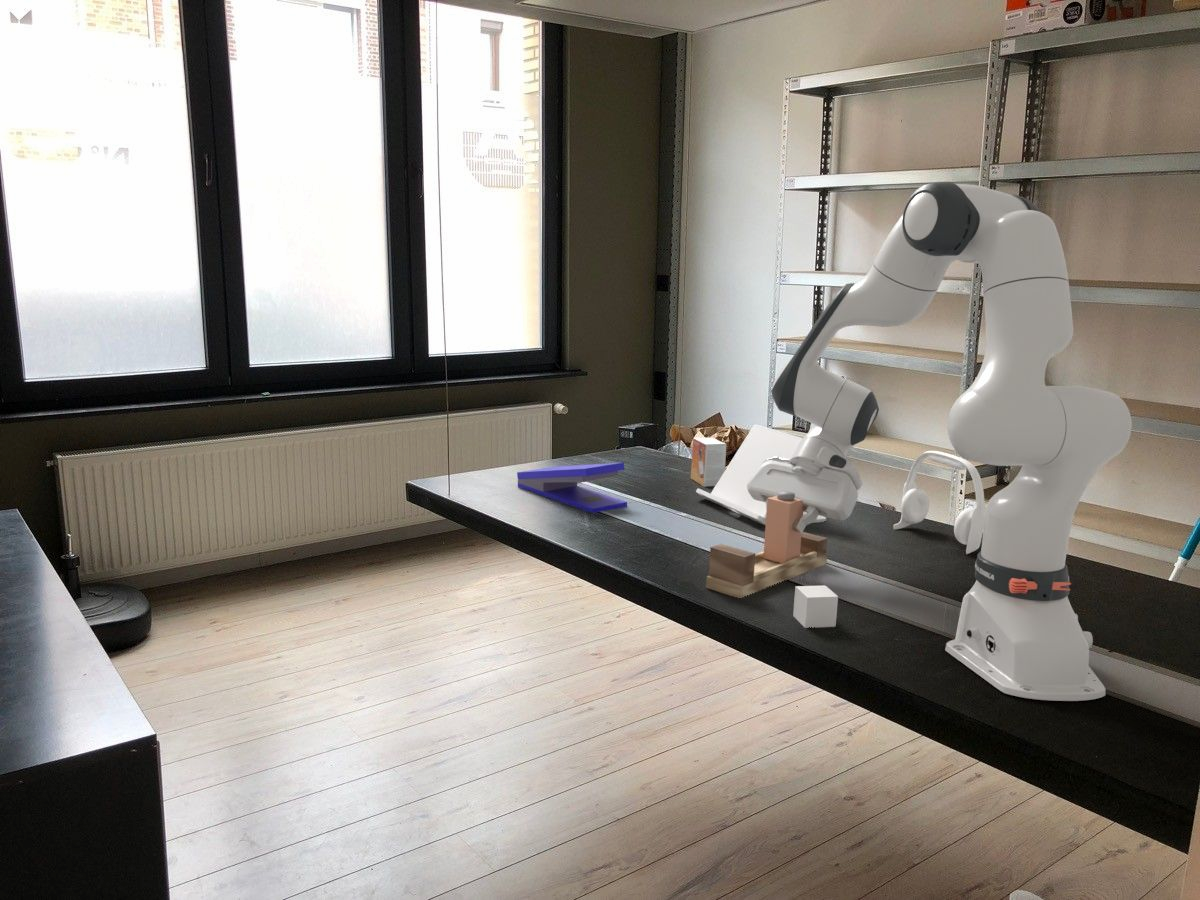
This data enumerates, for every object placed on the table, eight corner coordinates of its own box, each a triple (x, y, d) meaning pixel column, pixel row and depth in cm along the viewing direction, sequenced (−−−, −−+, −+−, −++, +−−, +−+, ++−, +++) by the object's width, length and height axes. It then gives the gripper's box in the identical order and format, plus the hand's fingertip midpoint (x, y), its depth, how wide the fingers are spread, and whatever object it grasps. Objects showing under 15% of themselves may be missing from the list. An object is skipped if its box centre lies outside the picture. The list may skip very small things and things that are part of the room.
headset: (989, 553, 189) (1000, 463, 185) (961, 556, 186) (972, 465, 182) (916, 525, 206) (925, 443, 203) (890, 528, 203) (898, 444, 200)
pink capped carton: (777, 552, 177) (782, 488, 174) (799, 558, 174) (804, 493, 171) (763, 557, 173) (767, 492, 171) (785, 564, 170) (790, 497, 168)
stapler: (590, 514, 207) (591, 470, 205) (514, 488, 228) (514, 447, 226) (630, 506, 215) (631, 463, 213) (552, 481, 236) (553, 441, 234)
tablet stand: (759, 494, 229) (763, 423, 226) (827, 522, 207) (834, 443, 204) (693, 500, 221) (697, 427, 218) (757, 530, 199) (763, 449, 196)
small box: (690, 479, 241) (692, 437, 239) (711, 478, 242) (713, 436, 240) (703, 487, 233) (705, 444, 231) (724, 486, 235) (726, 443, 233)
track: (793, 554, 183) (796, 519, 182) (826, 563, 179) (829, 527, 177) (705, 587, 164) (708, 547, 163) (739, 598, 159) (742, 557, 158)
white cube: (822, 615, 154) (825, 585, 153) (835, 627, 149) (838, 596, 148) (792, 616, 153) (795, 586, 152) (804, 628, 148) (807, 597, 147)
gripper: (761, 445, 182) (727, 504, 177) (860, 464, 168) (826, 529, 163) (773, 465, 186) (740, 523, 181) (871, 485, 172) (837, 549, 167)
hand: (781, 526), depth 172 cm, fingers closed on pink capped carton, 5 cm apart
